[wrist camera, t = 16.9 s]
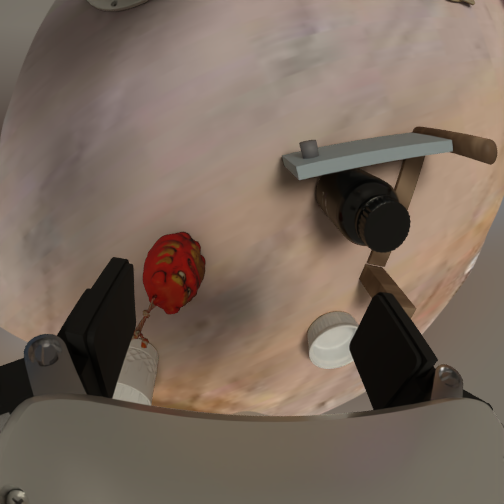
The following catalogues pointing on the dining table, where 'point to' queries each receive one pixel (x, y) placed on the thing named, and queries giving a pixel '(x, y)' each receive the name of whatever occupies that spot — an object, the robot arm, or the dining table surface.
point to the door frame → (462, 145)
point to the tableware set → (467, 0)
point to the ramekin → (331, 340)
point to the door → (361, 153)
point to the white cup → (137, 374)
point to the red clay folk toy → (171, 275)
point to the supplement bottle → (364, 209)
